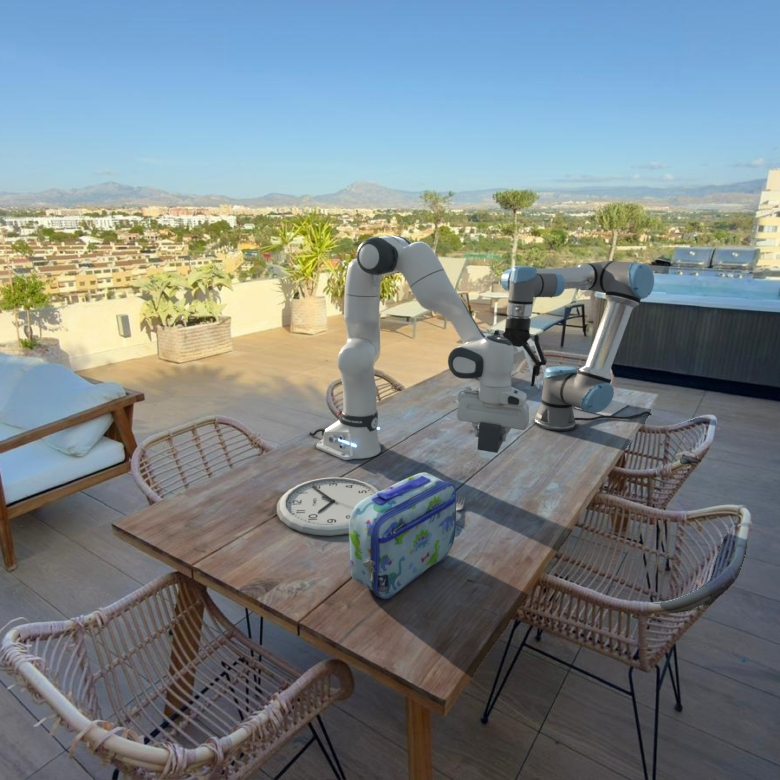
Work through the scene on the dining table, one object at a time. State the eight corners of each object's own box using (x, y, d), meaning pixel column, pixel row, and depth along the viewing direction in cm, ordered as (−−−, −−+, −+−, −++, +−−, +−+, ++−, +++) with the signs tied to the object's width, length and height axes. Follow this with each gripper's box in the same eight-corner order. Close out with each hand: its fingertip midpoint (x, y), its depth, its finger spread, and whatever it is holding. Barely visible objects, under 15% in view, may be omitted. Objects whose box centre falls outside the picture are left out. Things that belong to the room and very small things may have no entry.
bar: (495, 420, 174) (496, 397, 171) (512, 422, 172) (514, 399, 169) (477, 449, 150) (479, 423, 148) (497, 453, 148) (499, 427, 146)
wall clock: (392, 527, 129) (268, 531, 127) (391, 533, 130) (269, 537, 127) (383, 473, 158) (282, 475, 155) (383, 478, 158) (282, 480, 156)
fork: (441, 530, 132) (442, 523, 131) (456, 501, 146) (456, 494, 145) (451, 532, 131) (452, 525, 130) (465, 502, 145) (465, 496, 144)
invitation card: (608, 416, 214) (573, 407, 224) (608, 416, 214) (573, 408, 224) (628, 404, 229) (594, 396, 238) (628, 405, 229) (594, 397, 238)
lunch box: (377, 612, 103) (378, 518, 97) (342, 586, 111) (341, 497, 104) (459, 557, 121) (465, 475, 115) (425, 538, 128) (428, 460, 122)
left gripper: (455, 391, 148) (453, 436, 152) (529, 401, 141) (524, 448, 145) (461, 385, 154) (458, 429, 158) (532, 394, 147) (527, 440, 151)
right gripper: (476, 314, 164) (470, 379, 170) (558, 322, 155) (549, 390, 161) (482, 311, 171) (476, 374, 177) (561, 319, 162) (552, 385, 168)
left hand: (490, 438), depth 152 cm, fingers closed on bar, 6 cm apart
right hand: (511, 382), depth 169 cm, fingers open, 13 cm apart
